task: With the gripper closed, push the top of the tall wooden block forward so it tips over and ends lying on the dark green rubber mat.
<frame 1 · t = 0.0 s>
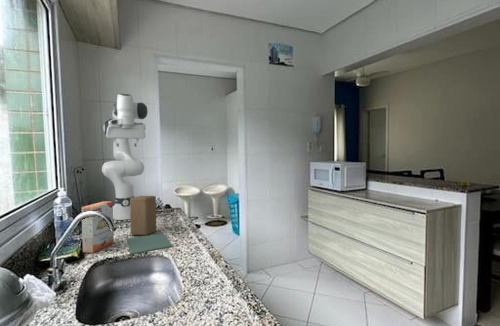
hand: (126, 146, 151), 48 cm above the worktop, tool pointing down, fingers open, 8 cm apart
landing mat: (148, 243, 130), on the worktop
wooden block: (143, 233, 145), on the worktop, touching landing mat
cracker box: (99, 247, 125), on the worktop
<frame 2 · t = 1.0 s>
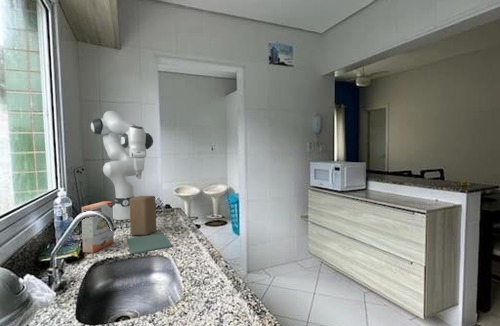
hand: (138, 178, 153), 30 cm above the worktop, tool pointing down, fingers open, 8 cm apart
nothing on the worktop moved.
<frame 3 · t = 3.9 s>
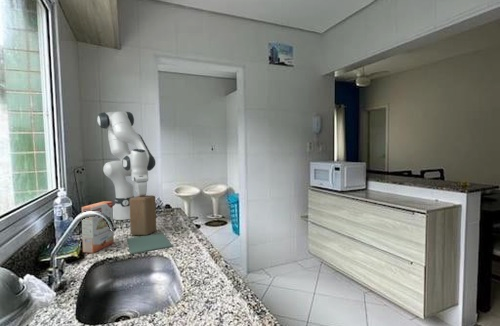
hand: (140, 201, 152), 16 cm above the worktop, tool pointing down, fingers closed
wooden block: (143, 233, 145), on the worktop, touching gripper, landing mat
everything else where it was.
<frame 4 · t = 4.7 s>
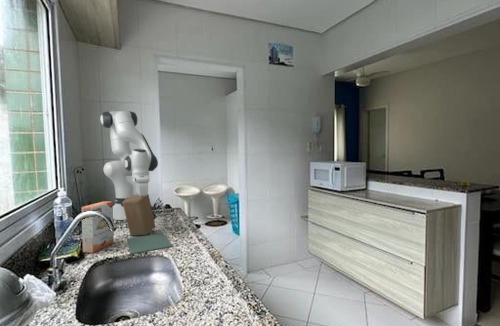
hand: (141, 202, 148), 16 cm above the worktop, tool pointing down, fingers closed
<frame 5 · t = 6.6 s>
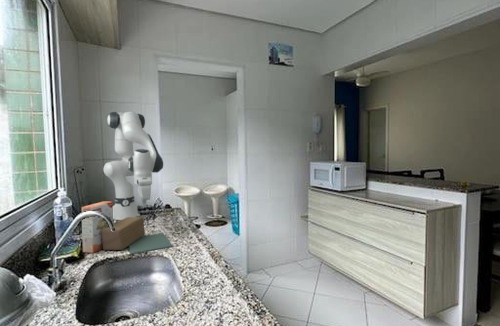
hand: (143, 205, 141), 16 cm above the worktop, tool pointing down, fingers closed
wooden block: (136, 225, 140), point 6 cm above the worktop, touching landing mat
everything else where it was.
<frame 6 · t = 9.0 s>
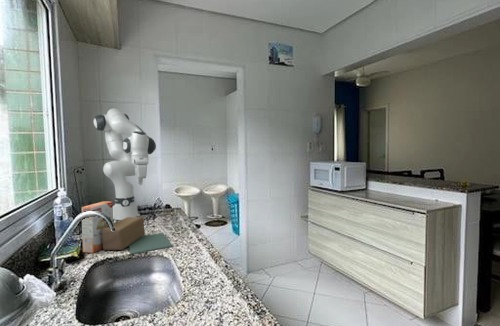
hand: (140, 184, 150), 26 cm above the worktop, tool pointing down, fingers closed
nothing on the worktop moved.
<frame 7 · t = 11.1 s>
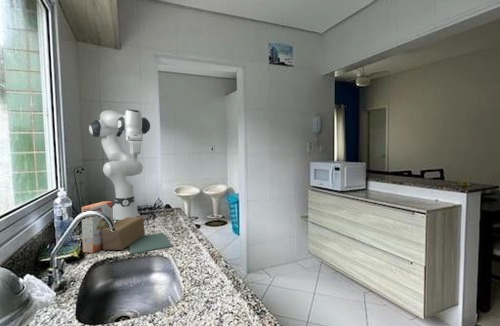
hand: (135, 161, 152), 39 cm above the worktop, tool pointing down, fingers closed
nothing on the worktop moved.
at the end: wooden block tilted 92°; wooden block inside the target area (5.9 cm from its centre), point 5.9 cm above the worktop; wooden block touching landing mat, worktop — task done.
